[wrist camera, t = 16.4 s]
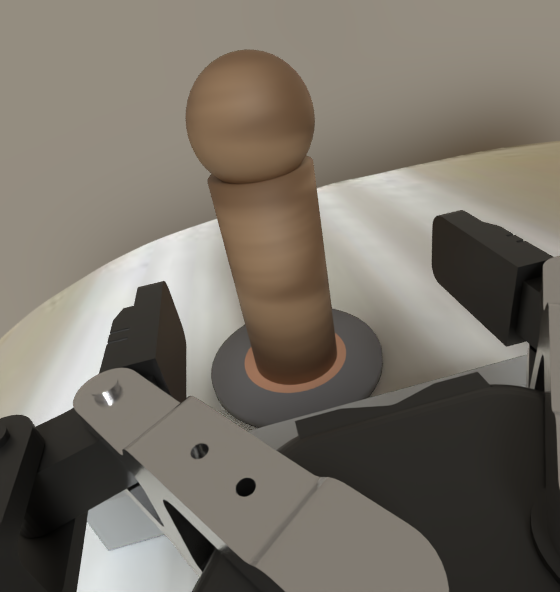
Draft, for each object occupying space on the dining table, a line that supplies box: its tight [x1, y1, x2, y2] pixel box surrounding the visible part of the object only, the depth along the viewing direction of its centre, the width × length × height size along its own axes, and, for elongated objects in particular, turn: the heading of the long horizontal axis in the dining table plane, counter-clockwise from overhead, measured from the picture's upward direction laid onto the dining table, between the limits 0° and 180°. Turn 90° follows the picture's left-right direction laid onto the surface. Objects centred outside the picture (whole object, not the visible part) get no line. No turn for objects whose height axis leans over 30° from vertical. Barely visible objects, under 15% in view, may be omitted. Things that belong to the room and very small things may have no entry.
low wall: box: [87, 355, 527, 551], centre depth 18 cm, size 20×2×3 cm, turn 100°
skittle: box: [186, 50, 337, 385], centre depth 21 cm, size 5×5×16 cm
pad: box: [211, 309, 383, 428], centre depth 25 cm, size 10×10×1 cm
